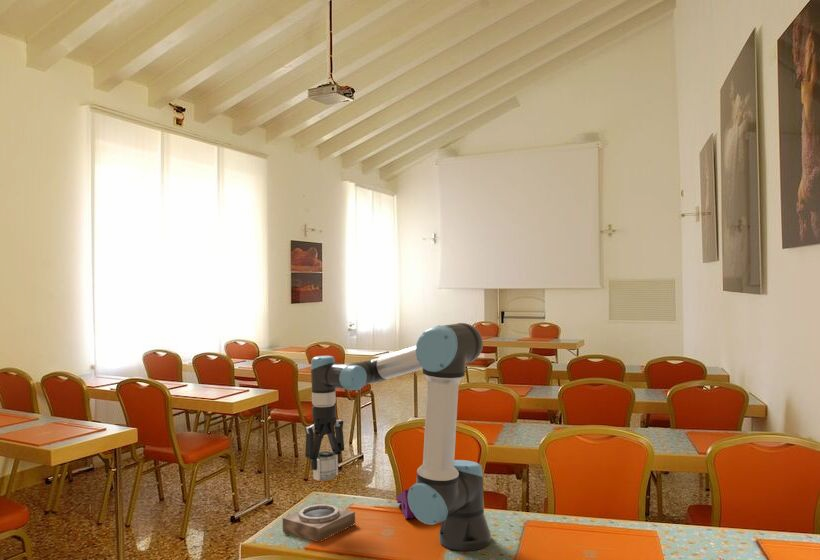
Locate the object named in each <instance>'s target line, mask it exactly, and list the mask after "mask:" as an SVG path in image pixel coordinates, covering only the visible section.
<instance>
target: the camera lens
mask: <svg viewBox="0 0 820 560" xmlns="http://www.w3.org/2000/svg"><path fill="white" fill-rule="evenodd" d="M318 459H320V480H319V481H330V480H333V479H335V477H336V475H335V472H336V469H335V454H334V453H333V451H332V452H331V451H322V452H319V455H318Z"/></svg>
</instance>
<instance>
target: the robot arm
mask: <svg viewBox="0 0 820 560" xmlns="http://www.w3.org/2000/svg"><path fill="white" fill-rule="evenodd" d="M483 341H484V340H483V336H482V335H481V332H480V331H479V330H478V329H477V328H476V327H475V326H473V325H471V324H469V323H467V322H466V323H464V322H463V323H462V322H459V323H453V324H444V325H436V326H434V327H430V328H427V329H426V330H425V331H423V332H422V333H421V334H420V336H419V337H418V339H417V341H416V343H415V345H413V346H410V347H408V348H404V349H401V350H398V351H395V352H391V353H388V354H385V355H381V356H378V357H376V358H373V359H369V360H368V359H367V360H364V361H358V362H352V363H346V364H345V363H336V359H335V357H334V356H332V355H316V356H314V357H312V359H311V361H310V362H311V363H310V364H311V365H310V375H311V377H310V378H311V404H312V405H313V406H312V407H311V413H312V415H311V416H312V424H311V425H310V426H305V427H304V431H305V435H306V436H305V454H304V455H305V458H306V459H309V460H310V467H311V470H313V471H312V472H313V473H312V476H313V477H312V478H313V480H315V481H318V482H319V481H321V480H320V459H318V455H319V453H320V450H321V446H322V442H323V441H322V440H323V439H324V436H325V435H327V437H328V438H327V439H328V441H329V445H330V447H331V451H332V453H334V454H335V469H336V472H335V476H339V464H340V455H342V452H344V451H345V440H344V431H343V430H344V429H343V427H344V420H341V419H336V416H337V406H336V403H337V398H336V396H337V395H336V389H342V390H348V391H352V390H353V391H357V390H358V391H359V390H361V389H362V388H364V386H366V385H370V384H376V383H381V382H384V381H386V380H388V379H389V380H390V379H392V378H396V377H401V376H403V375H407V374H410V373H414V372H417V371H421V370H422V375H423V376H424V377H425V378H426V380H427V383H426V401H425V405H426V406H425V420H424V421H425V422H424V438H423V439H424V440H423V441H424V442H423V454H422V455H423V456H422V457H423V458H422V464H421V465H420V466H419V467H417V470H416V482H415V483H413V484H412V485H411V486H410V488H409V489H408V490H409V492H408V504H409V507H410V509H411V511H412V512H413V513H414V517H415V518H416V519H417V520H418V521H419V522H421V523H424V524H425V525H430V526H431V525H437V524H439V523H441V525H440V528H439V533H438V537H439V538H438V541H439V543H440V545H442V546H444V547H445V548H447V549H451V550H454V551H461V552H465V551H466V552H468V551H476V550H481V549H483V548H486V547H487V546H489V545H490V544H491V542H492V539H491V538H492V536H491V531H490V528H489V525H488V521H487V519H486V516H485V511H484V510H485V509H484V508H485V507H484V505H485V504H484V474H483V467H482V465H481V464H479V462H476V461H471V460H465V459H455V456H456V455H455V451H456V438H457V437H456V435H457V419H458V402H459V401H458V399H459V383H460V381H461V380H462V379H464V378H465V376H466V374H465V373H466V365H468V364H470V363H472V362H474V361H475V360H477V358H479V356H480V355H481V354H482V351H483V346H484V342H483Z"/></svg>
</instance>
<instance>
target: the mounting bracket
mask: <svg viewBox="0 0 820 560" xmlns="http://www.w3.org/2000/svg"><path fill="white" fill-rule="evenodd" d="M408 492H409V489H404V490H403V491H402V492H400V493H398V494H397V495H396V497H395V498H396V503H397V504H400V505H401V512H402V516H403V515H404V516H405V518H406V519H405V518H404V519H405V520H408V518H410V519H414V517H415V515H414V513H413V512H412V511H411V509H410V507H409V504H408ZM404 516H403V517H404Z"/></svg>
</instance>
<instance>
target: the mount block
mask: <svg viewBox="0 0 820 560" xmlns="http://www.w3.org/2000/svg"><path fill="white" fill-rule="evenodd" d="M354 523H355V524H356V512H355V511H353V510H349V509H344V508H341V507H338V506H336V505H333V504H328V503H322V502H317V503H315V504H312V505H311V504H310V505H307V506H305V507H303V508H301V509H300V510H298V511H296V512H294V513H291V514H289V515H286V516H284V517H282V532H286V533H288V534H292V535H296V536H298V537H302V538H305V539H309V540H311V541H314V540H317V541H316V542H318V541H321V540H323V539H325V538H327V537H329V536H331V535H333V534H335V533H337V532H339V531H341V530H343V529H345V528H347V527H349V526H351V525H353V524H354ZM353 526H354V525H353ZM351 527H352V526H351ZM349 528H350V527H349ZM347 529H348V528H347ZM345 530H346V529H345ZM343 531H344V530H343ZM341 532H342V531H341ZM339 533H340V532H339ZM337 534H338V533H337ZM335 535H336V534H335ZM333 536H334V535H333ZM331 537H332V536H331ZM329 538H330V537H329ZM327 539H328V538H327ZM325 540H326V539H325ZM323 541H324V540H323ZM321 542H322V541H321Z"/></svg>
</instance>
